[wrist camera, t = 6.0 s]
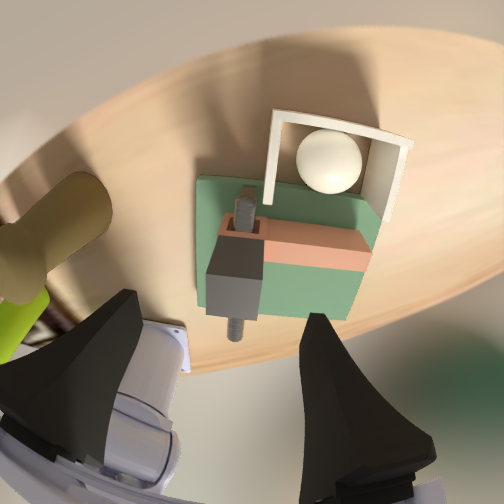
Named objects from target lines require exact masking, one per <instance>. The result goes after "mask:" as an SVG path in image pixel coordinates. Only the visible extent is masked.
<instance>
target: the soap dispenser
mask: <svg viewBox="0 0 504 504" xmlns="http://www.w3.org/2000/svg"><path fill="white" fill-rule="evenodd" d="M49 302H50V298H49V294H48V291H47V289H46V287H45V286H44V287H43V289H42V291H41V292H40V293H39V294H38V296H37V297H36V298H35V299H34V300H33V301H31V302H30V303H28V304H23V305H15V304H13V303H10V302H8V301H7V300H6V299H4V300H3V301H2V303H1V304H0V364H3V363H7V362H8V361H9V359H10V358H11V356H12V355H13V353H14V352H15V350H16V349H17V347H18V346H19V344H20V343H21V341H22V340H23V338H24V337H25V336H26V334H27V333H28V331H29V330H30V328H31V327H32V326H33V324H34V323H35V322H36V320H37V319H38V317H39V316H40V315H41V313H42V312H43V311H44V310H45V308H46V307H47V306H48V304H49Z"/></svg>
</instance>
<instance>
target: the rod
mask: <svg viewBox="0 0 504 504" xmlns="http://www.w3.org/2000/svg"><path fill="white" fill-rule="evenodd" d="M255 191H256V186H249V185H243V188H242V192H241V195H240V196H237V197H236V198H235V211H234V225H233V231H236V232H245V233H254V227H255V217H256V208H257V198H255ZM243 329H244V319H236V318H228V327H227V338H228V339H229V340H230V341H233V342H238V341H240V340H241V339H242V337H243Z"/></svg>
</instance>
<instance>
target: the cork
mask: <svg viewBox="0 0 504 504" xmlns="http://www.w3.org/2000/svg"><path fill="white" fill-rule="evenodd" d="M111 219H112V204H111V200H110V197H109V195H108V192H107V190H106V189H105V187H104V186H103V184H102V183H101V182H100V181H99V180H98V179H97V178H95V177H94V176H93V175H91V174H88V173H85V172H75V173H73V174H71V175H69V176H68V177H67V178H65V179H64V180H63V181H62V182H60V183H59V184H58V185H57V186H56V187H54V188H53V189H52V190H51V191H50V192H49V193H48V194H46V195H45V196H44V197H43V198H42V199H41V200H40V201H39V202H37V203H36V204H35V205H34V206H33V207H32V208H31V209H30V210H29V211H28V212H27V213H26V214H25V215H24V216H23V217H22V218H21V219H20V220H19V221H18V222H17V223H16V224H12V223H8V224H5V225H2V226H0V295H1V296H2V297H3V298H4V299H6V300H7V301H8V302H10V303H13V304H15V305H23V304H28V303H30V302H31V301H33V300H34V299H35V298H36V297H37V296H38V294H39V293H40V292H41V291H42V289H43V287H44V285H45V282H46V278H47V273H48V272H50V271H51V270H52V269H53V268H55V267H56V266H57V265H59V264H60V263H61V262H63V261H64V260H65V259H67V258H68V257H70V256H71V255H72V254H74V253H75V252H77V251H78V250H79V249H81V248H82V247H84V246H85V245H87V244H88V243H89V242H91V241H92V240H94V239H95V238H97V237H98V236H100V235H101V234H102V233H104V232H105V231H106V230H107V229H108V227H109V225H110V223H111Z"/></svg>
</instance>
